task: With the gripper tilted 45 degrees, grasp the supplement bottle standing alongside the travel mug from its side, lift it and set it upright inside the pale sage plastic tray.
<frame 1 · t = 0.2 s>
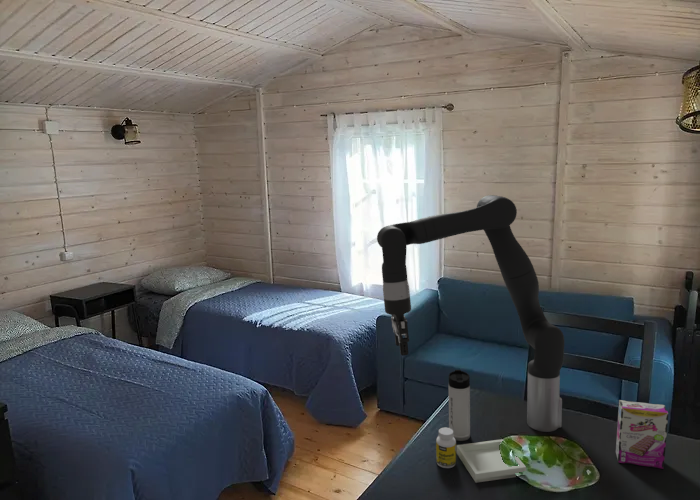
hand: (402, 349, 150), 29 cm above the table, tool pointing down, fingers open, 8 cm apart
supplement bottle: (446, 463, 144), on the table
candy bar box: (639, 462, 141), on the table
travel mug: (459, 436, 158), on the table
tray: (489, 463, 143), on the table
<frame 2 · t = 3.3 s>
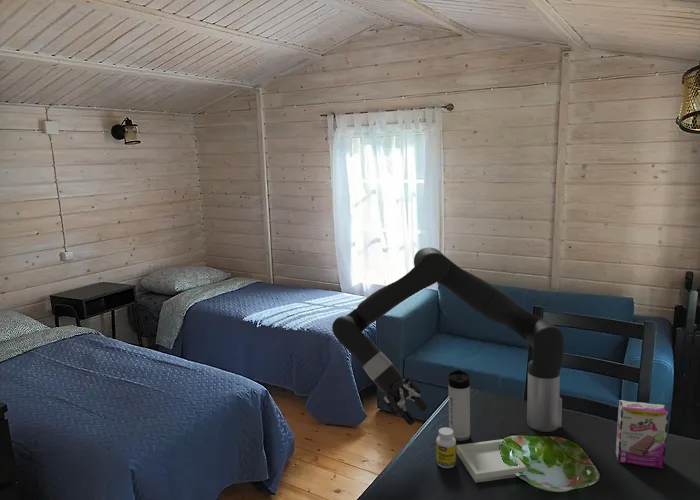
hand: (419, 416, 146), 12 cm above the table, tool tilted 45°, fingers open, 8 cm apart
nothing on the table moved.
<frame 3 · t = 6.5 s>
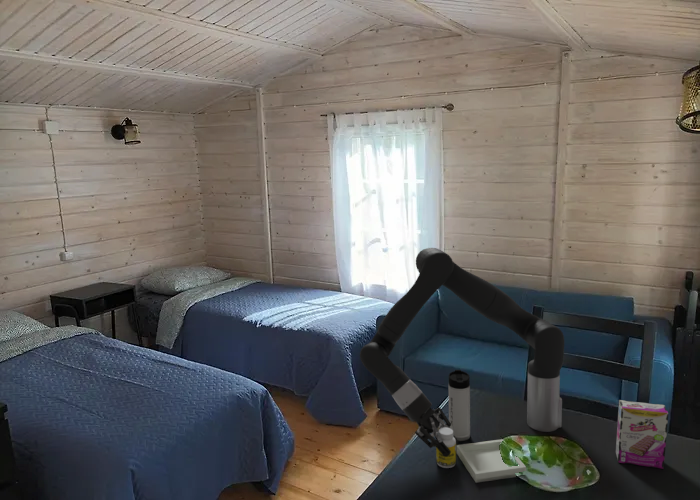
hand: (452, 449, 142), 5 cm above the table, tool tilted 45°, fingers closed on supplement bottle, 5 cm apart
supplement bottle: (446, 463, 144), on the table, touching gripper
everything else where it was.
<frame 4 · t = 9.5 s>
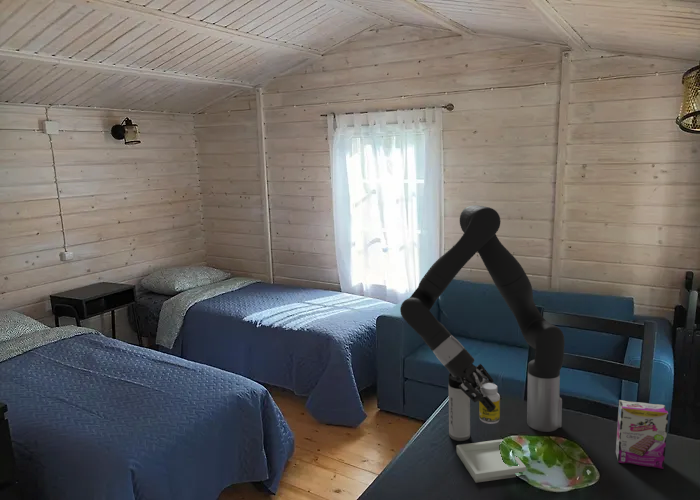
hand: (496, 404, 139), 18 cm above the table, tool tilted 45°, fingers closed on supplement bottle, 5 cm apart
supplement bottle: (489, 420, 140), point 13 cm above the table, touching gripper
everything else where it was.
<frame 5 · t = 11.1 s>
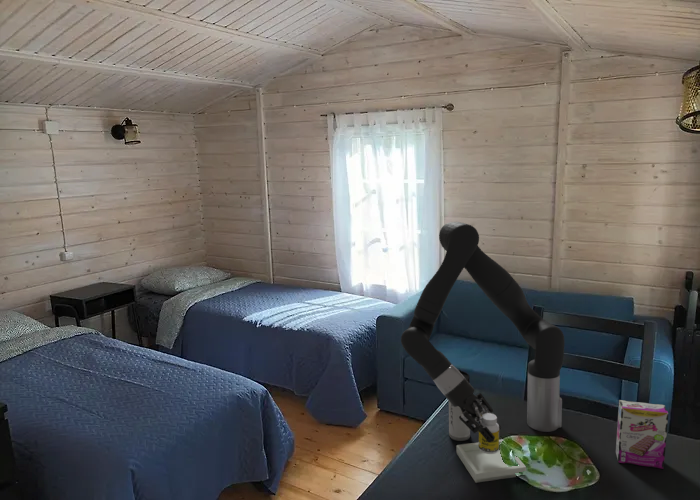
hand: (495, 435, 140), 9 cm above the table, tool tilted 45°, fingers closed on supplement bottle, 5 cm apart
supplement bottle: (488, 449, 142), point 4 cm above the table, touching gripper
everything else where it was.
when the fingers open (7 cm above the table, at t = 12.5 s): supplement bottle drops 1 cm, resting on tray.
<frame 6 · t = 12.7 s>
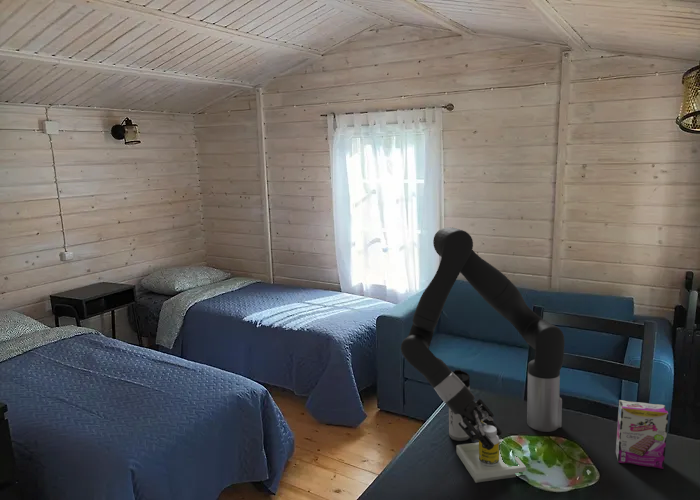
hand: (495, 441, 140), 7 cm above the table, tool tilted 45°, fingers open, 7 cm apart
supplement bottle: (489, 461, 142), point 1 cm above the table, touching tray
everything else where it was.
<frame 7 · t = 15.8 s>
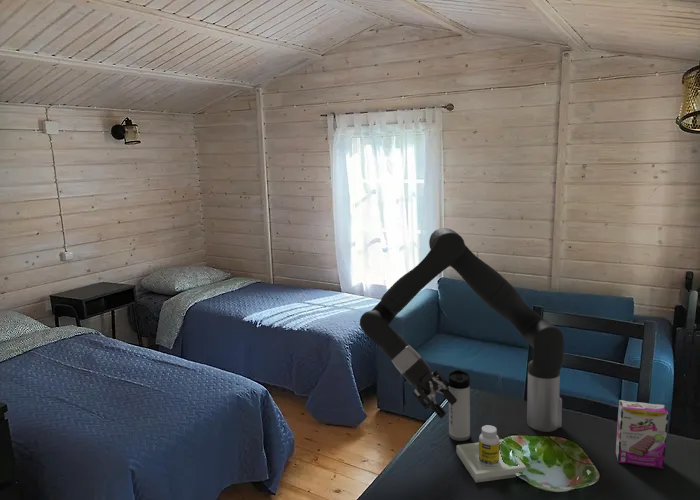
hand: (449, 409, 146), 14 cm above the table, tool tilted 45°, fingers open, 8 cm apart
nothing on the table moved.
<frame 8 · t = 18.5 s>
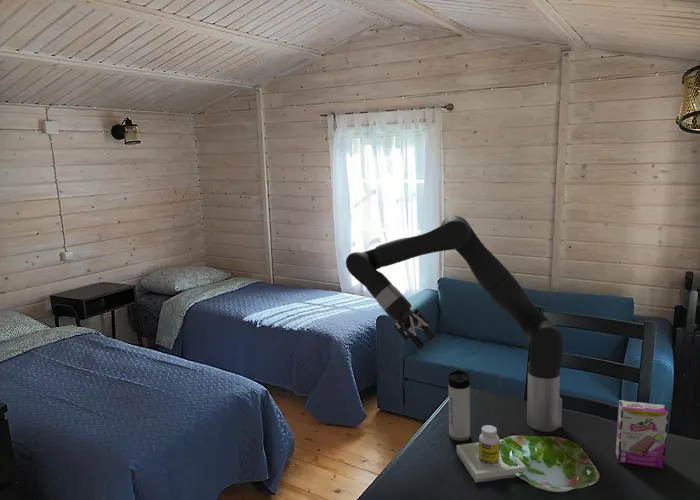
hand: (428, 342, 157), 29 cm above the table, tool tilted 45°, fingers open, 8 cm apart
nothing on the table moved.
at the end: supplement bottle inside the target area on the tray (0.2 cm from its centre), point 0.6 cm above the tray's base; supplement bottle tilted 0°; the gripper is holding nothing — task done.
